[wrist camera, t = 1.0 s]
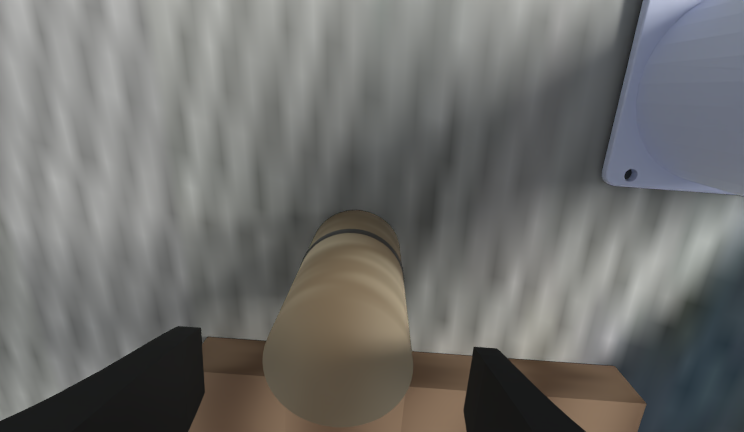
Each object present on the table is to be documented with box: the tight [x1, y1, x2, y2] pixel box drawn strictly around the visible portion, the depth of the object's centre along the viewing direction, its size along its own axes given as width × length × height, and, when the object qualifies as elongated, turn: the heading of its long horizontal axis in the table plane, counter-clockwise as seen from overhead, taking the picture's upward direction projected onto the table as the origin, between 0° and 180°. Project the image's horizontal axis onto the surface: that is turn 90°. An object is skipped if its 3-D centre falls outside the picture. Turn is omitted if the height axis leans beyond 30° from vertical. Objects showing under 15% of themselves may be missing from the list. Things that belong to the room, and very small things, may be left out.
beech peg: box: [262, 210, 413, 427], centre depth 15 cm, size 4×4×8 cm
